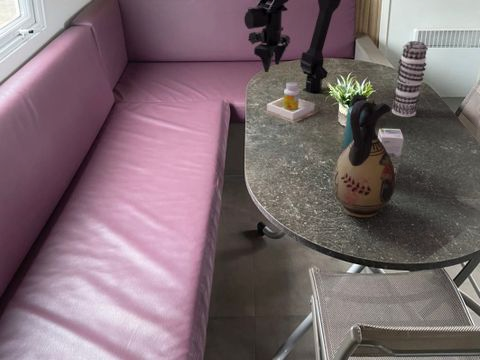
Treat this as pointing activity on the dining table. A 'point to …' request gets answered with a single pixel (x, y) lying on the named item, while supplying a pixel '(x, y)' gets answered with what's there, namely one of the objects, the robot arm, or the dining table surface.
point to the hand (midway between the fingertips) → (271, 68)
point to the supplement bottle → (291, 97)
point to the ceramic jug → (364, 165)
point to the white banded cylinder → (409, 79)
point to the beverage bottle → (348, 130)
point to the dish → (302, 111)
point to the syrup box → (392, 145)
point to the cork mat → (297, 119)
